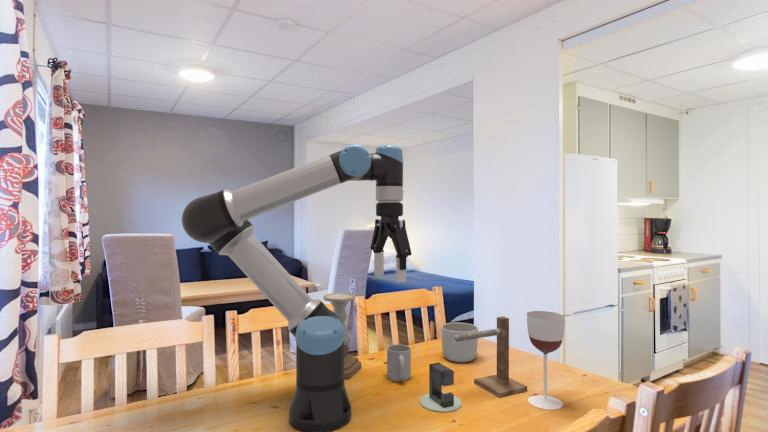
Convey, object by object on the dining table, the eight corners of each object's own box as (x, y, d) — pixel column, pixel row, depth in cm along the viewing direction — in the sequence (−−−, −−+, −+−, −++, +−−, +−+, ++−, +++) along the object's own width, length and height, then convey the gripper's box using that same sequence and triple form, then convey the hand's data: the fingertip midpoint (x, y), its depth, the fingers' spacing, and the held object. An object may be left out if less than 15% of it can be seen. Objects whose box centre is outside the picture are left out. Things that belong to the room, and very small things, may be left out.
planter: (483, 356, 151) (483, 325, 151) (470, 367, 141) (470, 333, 141) (449, 350, 158) (450, 320, 158) (435, 360, 147) (435, 328, 147)
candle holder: (315, 375, 134) (315, 297, 134) (331, 363, 144) (331, 291, 144) (348, 379, 130) (348, 300, 130) (362, 367, 141) (361, 293, 141)
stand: (468, 405, 113) (469, 329, 113) (444, 389, 123) (445, 319, 123) (527, 390, 122) (527, 320, 122) (500, 377, 132) (500, 312, 132)
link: (444, 408, 111) (444, 372, 111) (429, 397, 117) (429, 364, 117) (453, 405, 112) (453, 370, 112) (438, 395, 118) (438, 362, 118)
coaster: (434, 415, 107) (434, 414, 107) (412, 398, 117) (412, 396, 117) (470, 406, 112) (470, 405, 112) (446, 391, 122) (446, 389, 122)
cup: (408, 372, 136) (408, 344, 136) (414, 385, 127) (414, 354, 126) (385, 373, 135) (385, 344, 135) (390, 386, 126) (390, 355, 125)
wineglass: (541, 412, 109) (542, 321, 109) (519, 396, 119) (519, 312, 118) (572, 408, 112) (573, 318, 111) (548, 392, 121) (548, 310, 121)
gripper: (424, 201, 112) (424, 284, 112) (381, 203, 134) (382, 272, 134) (398, 201, 108) (398, 286, 108) (359, 202, 131) (359, 273, 131)
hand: (389, 278), depth 121 cm, fingers open, 13 cm apart
